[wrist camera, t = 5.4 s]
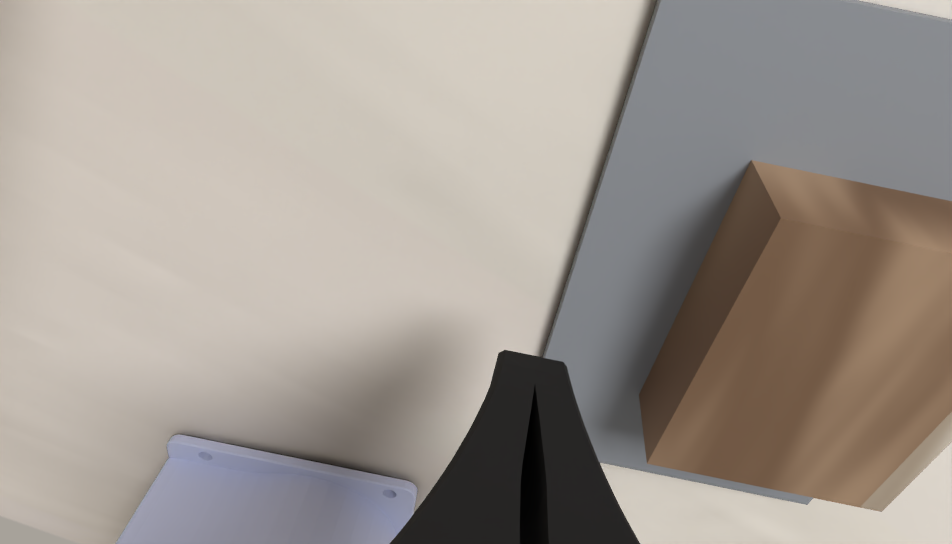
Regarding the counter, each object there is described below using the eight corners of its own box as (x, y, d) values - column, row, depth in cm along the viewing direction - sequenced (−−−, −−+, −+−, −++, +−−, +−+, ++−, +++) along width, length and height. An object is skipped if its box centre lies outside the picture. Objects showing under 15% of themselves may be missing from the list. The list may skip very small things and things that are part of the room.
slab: (647, 463, 17) (881, 511, 17) (780, 217, 12) (1108, 285, 12) (639, 394, 19) (848, 437, 19) (751, 159, 14) (1033, 217, 14)
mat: (517, 435, 21) (516, 445, 21) (669, -39, 12) (671, -34, 12) (803, 494, 21) (807, 504, 21) (1166, 63, 12) (1182, 70, 12)
